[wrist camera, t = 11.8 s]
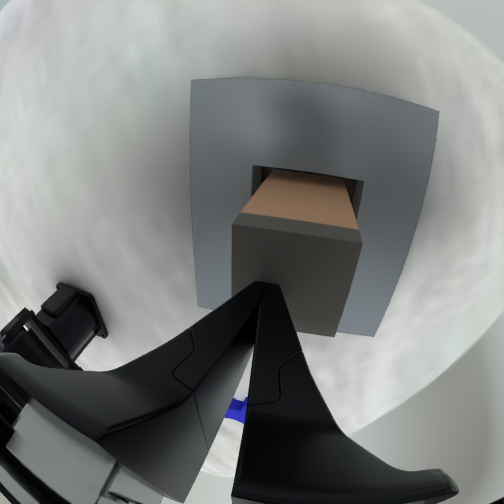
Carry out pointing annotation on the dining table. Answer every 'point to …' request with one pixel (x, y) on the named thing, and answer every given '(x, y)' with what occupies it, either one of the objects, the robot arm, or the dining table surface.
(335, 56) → the dining table surface
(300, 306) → the tan upright block
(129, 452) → the robot arm
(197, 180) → the socket plate
